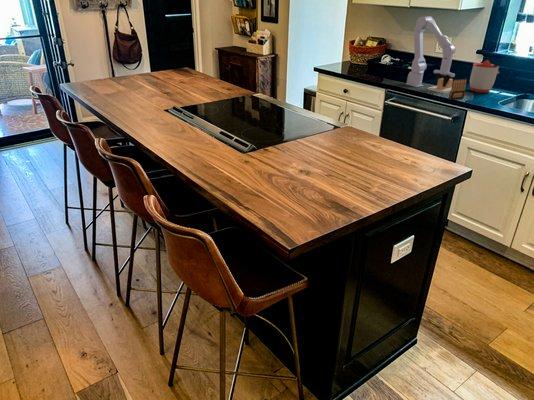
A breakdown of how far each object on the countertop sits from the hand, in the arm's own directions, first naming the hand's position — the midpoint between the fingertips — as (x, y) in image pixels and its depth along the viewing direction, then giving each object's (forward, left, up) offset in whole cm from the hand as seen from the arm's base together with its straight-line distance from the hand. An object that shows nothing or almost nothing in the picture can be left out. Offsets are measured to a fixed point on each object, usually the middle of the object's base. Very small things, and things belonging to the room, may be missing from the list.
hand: (441, 86), depth 278 cm
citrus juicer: (+13, +24, -3) cm, 28 cm away
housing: (0, +2, -3) cm, 4 cm away
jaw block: (0, -1, -2) cm, 2 cm away
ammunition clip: (+18, -10, -3) cm, 21 cm away
